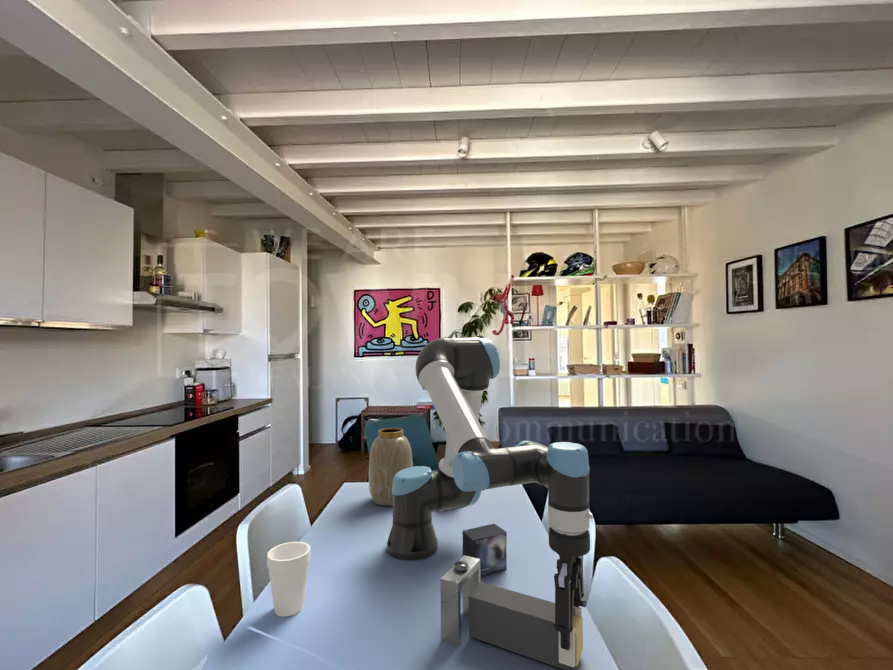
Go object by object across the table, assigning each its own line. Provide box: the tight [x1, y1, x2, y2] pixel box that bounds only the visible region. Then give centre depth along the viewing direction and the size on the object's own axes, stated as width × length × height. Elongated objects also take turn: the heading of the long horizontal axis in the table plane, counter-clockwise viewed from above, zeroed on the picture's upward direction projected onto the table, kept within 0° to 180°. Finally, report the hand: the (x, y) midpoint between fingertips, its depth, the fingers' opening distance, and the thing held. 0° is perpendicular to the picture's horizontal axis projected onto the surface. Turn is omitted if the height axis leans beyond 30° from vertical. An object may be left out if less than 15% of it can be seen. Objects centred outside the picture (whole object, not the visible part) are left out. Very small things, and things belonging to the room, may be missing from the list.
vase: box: [368, 427, 414, 507], centre depth 169 cm, size 17×17×27 cm
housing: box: [440, 555, 482, 648], centre depth 92 cm, size 4×11×13 cm, turn 152°
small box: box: [461, 523, 508, 578], centre depth 115 cm, size 11×6×10 cm, turn 117°
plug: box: [468, 581, 584, 670], centre depth 86 cm, size 22×6×8 cm, turn 61°
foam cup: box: [266, 541, 311, 618], centre depth 100 cm, size 10×9×13 cm
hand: (570, 651), depth 81 cm, fingers closed on plug, 6 cm apart
